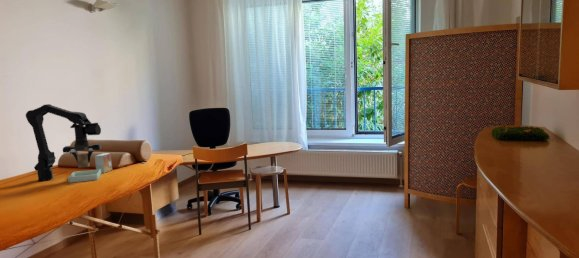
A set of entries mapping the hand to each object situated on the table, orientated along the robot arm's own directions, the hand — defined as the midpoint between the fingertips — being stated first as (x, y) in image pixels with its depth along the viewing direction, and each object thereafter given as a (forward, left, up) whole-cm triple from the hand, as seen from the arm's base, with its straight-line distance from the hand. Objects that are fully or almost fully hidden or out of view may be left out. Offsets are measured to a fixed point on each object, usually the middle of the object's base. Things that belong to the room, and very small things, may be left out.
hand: (83, 163), depth 238 cm
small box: (+8, +14, -9) cm, 19 cm away
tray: (0, 0, -9) cm, 9 cm away
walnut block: (0, 0, -2) cm, 2 cm away
